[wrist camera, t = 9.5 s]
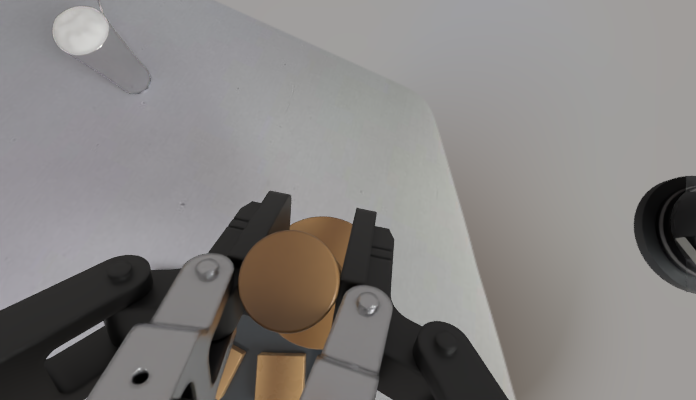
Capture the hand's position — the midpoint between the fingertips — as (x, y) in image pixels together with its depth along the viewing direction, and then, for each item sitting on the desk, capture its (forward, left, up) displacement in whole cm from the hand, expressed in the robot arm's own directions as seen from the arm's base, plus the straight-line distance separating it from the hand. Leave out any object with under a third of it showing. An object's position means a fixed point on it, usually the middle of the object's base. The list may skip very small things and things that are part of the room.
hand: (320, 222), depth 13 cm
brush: (0, +2, -9) cm, 9 cm away
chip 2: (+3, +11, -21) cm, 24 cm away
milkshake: (+25, -14, -22) cm, 36 cm away
